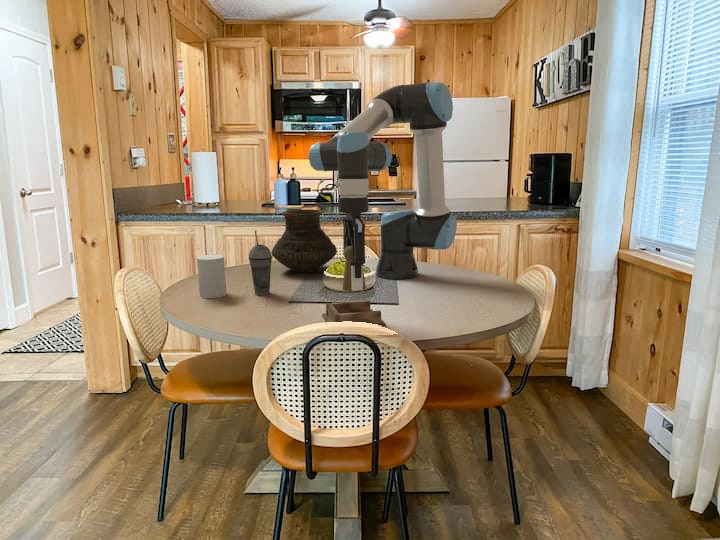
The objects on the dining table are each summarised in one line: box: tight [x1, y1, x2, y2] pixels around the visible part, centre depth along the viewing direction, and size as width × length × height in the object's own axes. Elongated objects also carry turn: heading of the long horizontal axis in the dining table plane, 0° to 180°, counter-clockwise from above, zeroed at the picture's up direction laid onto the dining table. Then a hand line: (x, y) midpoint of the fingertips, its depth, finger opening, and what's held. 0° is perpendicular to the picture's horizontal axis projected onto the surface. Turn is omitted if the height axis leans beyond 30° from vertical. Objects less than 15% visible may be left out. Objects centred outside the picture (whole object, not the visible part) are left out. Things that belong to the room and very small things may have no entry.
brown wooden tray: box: [321, 299, 387, 327], centre depth 133 cm, size 14×13×4 cm
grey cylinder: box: [196, 254, 227, 299], centre depth 159 cm, size 8×8×12 cm
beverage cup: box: [248, 229, 273, 296], centre depth 159 cm, size 7×7×20 cm
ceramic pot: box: [270, 208, 338, 273], centre depth 192 cm, size 24×24×22 cm
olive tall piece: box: [341, 246, 367, 292], centre depth 130 cm, size 6×6×11 cm
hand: (354, 286), depth 131 cm, fingers closed on olive tall piece, 6 cm apart
